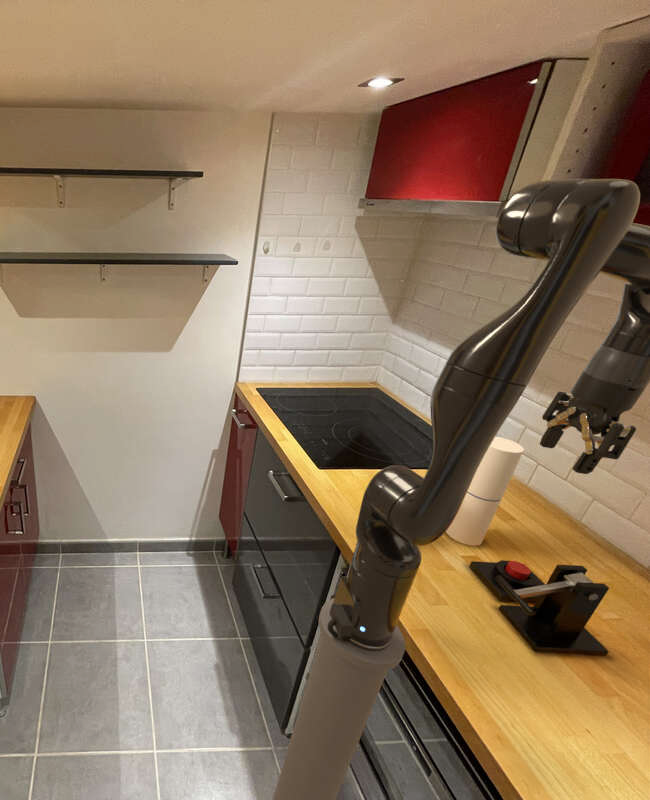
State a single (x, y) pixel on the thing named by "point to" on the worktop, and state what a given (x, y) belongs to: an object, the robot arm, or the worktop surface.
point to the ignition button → (518, 570)
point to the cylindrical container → (485, 492)
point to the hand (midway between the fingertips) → (562, 459)
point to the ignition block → (492, 569)
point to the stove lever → (542, 589)
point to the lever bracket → (561, 617)
